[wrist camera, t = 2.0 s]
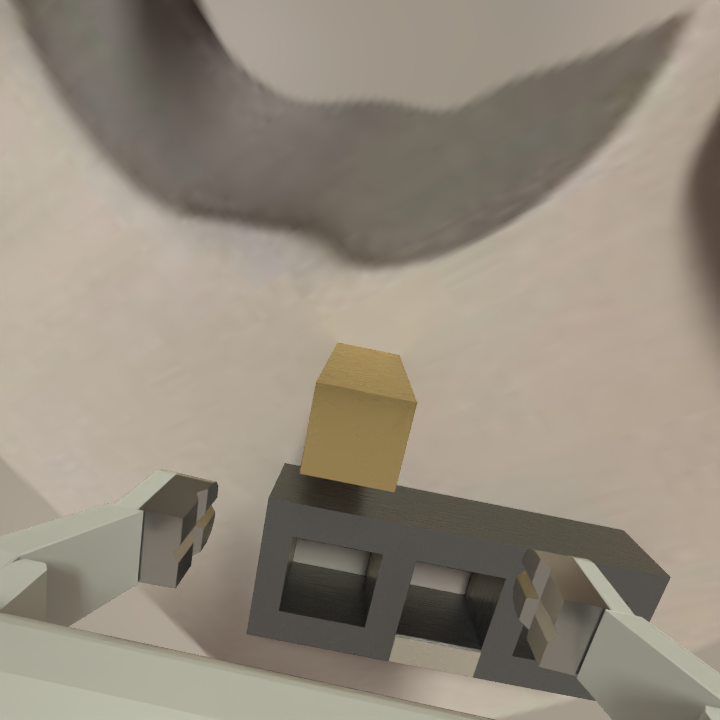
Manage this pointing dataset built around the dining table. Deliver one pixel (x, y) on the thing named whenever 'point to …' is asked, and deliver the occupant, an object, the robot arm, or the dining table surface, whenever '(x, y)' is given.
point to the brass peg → (359, 419)
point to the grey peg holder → (419, 604)
